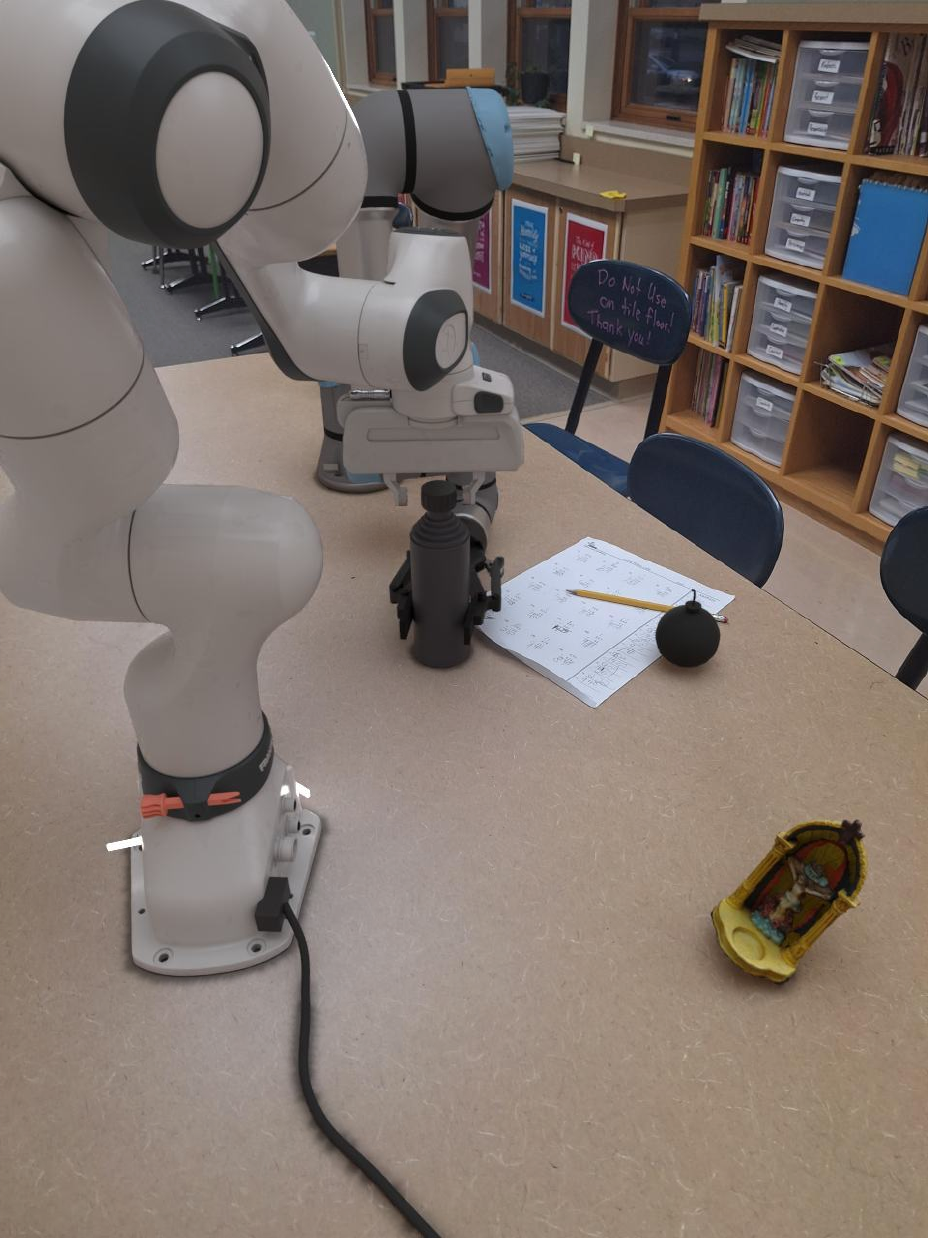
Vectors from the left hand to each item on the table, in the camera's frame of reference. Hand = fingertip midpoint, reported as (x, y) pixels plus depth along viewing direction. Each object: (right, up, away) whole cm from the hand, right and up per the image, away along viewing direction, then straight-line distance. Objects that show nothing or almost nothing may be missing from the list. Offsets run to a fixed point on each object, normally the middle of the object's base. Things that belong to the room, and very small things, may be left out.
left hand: (435, 503), depth 100 cm
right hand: (0, -15, +4) cm, 16 cm away
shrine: (+30, -43, -23) cm, 58 cm away
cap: (0, +1, -1) cm, 2 cm away
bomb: (+31, -19, +10) cm, 38 cm away
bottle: (0, -18, +12) cm, 21 cm away
